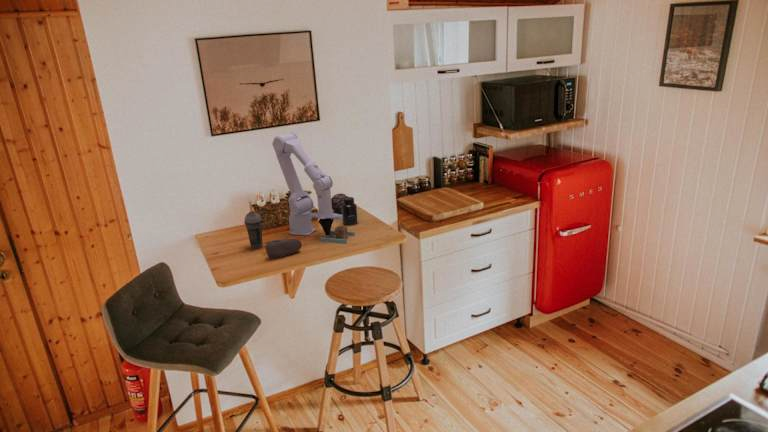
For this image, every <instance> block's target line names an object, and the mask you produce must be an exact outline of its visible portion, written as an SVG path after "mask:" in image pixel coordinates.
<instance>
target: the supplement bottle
mask: <svg viewBox="0 0 768 432" xmlns="http://www.w3.org/2000/svg"><path fill="white" fill-rule="evenodd" d="M343 200H344V201H343V203H344V204H343V205H342V216H343V219H342V224H343V225H344V226H355V225H356V224H358V209H357V207H358V206H357V204H356V203H355V198H354V197H352V196H348V197H346V198H344V199H343Z"/></svg>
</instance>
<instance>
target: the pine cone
mask: <svg viewBox="0 0 768 432" xmlns="http://www.w3.org/2000/svg"><path fill="white" fill-rule="evenodd" d="M346 197H349V195H346V193H336V194H334V195H333V196H331V202H332V212H333V213H336V214H341V215H342V205H343V204H344V203H343V201H344V200H343V199H344V198H346Z"/></svg>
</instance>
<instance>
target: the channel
mask: <svg viewBox="0 0 768 432" xmlns="http://www.w3.org/2000/svg"><path fill="white" fill-rule="evenodd" d="M347 232H348V237H349V236H351V237H354V236H355V231H347ZM334 236H335V230H331V231H330V234H329V235H325V236H324V237H319V242H321V243H323V242H324V243H325V242H326V243H333V244H334V243H336V244H347V243H348V240H347V239H348V238H347V239H336V238H335V237H334ZM333 237H334V238H333Z"/></svg>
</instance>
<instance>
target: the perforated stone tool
mask: <svg viewBox="0 0 768 432" xmlns="http://www.w3.org/2000/svg"><path fill="white" fill-rule="evenodd" d="M265 243H266V245H265V247H264V248H265V253H266V255H267V256H268V258H269V259H273V258H281V257H285V256H289V255H292V254H295V253H297V252H299V251H300V250H301V248H302V246H303V245H302V242H301V241H300V240H299V239H295V238H280V239H275V240H269V241H266V242H265Z"/></svg>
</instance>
